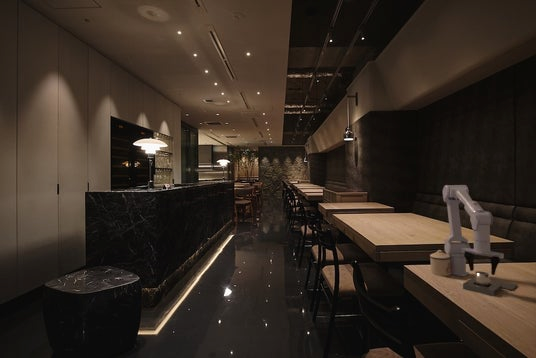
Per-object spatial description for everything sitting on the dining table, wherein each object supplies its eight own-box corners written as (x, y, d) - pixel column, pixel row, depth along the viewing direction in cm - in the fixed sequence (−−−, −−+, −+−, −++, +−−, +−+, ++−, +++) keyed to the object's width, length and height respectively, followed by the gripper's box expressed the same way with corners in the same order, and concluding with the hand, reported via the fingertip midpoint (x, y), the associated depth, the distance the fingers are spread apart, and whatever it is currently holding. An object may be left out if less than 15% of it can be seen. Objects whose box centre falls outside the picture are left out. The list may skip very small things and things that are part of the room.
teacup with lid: (451, 277, 143) (449, 253, 143) (429, 275, 149) (428, 251, 149) (452, 270, 153) (451, 247, 153) (432, 268, 158) (431, 246, 158)
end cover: (474, 289, 128) (474, 272, 128) (477, 286, 131) (477, 270, 131) (487, 292, 125) (486, 275, 125) (490, 289, 128) (490, 272, 128)
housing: (463, 288, 129) (462, 283, 129) (472, 283, 136) (472, 278, 136) (494, 296, 120) (494, 290, 120) (502, 289, 127) (502, 284, 127)
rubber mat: (486, 285, 133) (486, 283, 133) (492, 280, 138) (492, 279, 138) (512, 290, 126) (511, 289, 126) (517, 286, 131) (517, 284, 131)
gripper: (459, 239, 131) (459, 270, 131) (499, 244, 120) (500, 278, 120) (465, 237, 136) (465, 267, 135) (504, 241, 124) (505, 274, 124)
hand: (482, 272), depth 128 cm, fingers open, 7 cm apart
